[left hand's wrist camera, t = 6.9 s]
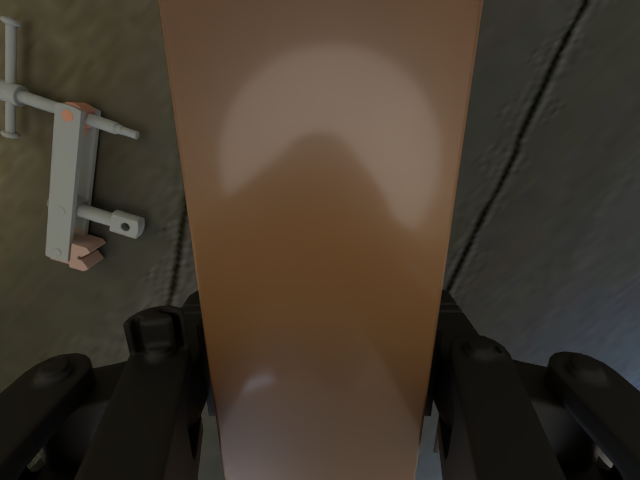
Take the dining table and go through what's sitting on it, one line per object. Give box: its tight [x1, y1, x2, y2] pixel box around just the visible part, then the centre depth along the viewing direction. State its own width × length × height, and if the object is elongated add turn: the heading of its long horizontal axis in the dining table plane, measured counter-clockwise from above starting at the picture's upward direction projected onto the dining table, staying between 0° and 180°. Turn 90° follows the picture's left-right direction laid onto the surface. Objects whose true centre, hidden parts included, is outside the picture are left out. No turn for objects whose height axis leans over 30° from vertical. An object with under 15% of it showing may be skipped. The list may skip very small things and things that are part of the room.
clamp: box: [0, 16, 145, 271], centre depth 24 cm, size 15×2×10 cm
